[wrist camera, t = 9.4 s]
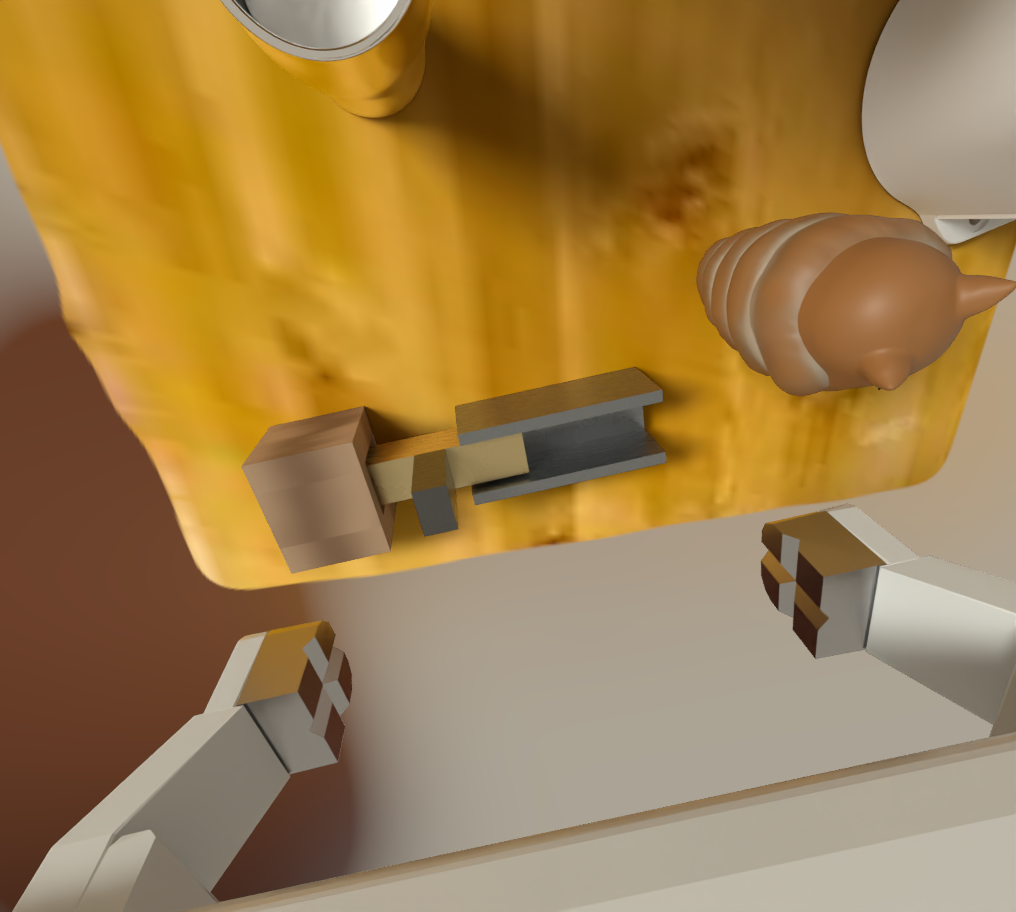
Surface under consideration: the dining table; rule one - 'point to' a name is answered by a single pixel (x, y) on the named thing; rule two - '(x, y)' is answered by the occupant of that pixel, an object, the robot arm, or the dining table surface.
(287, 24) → the silver cup
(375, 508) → the socket
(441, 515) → the tan grey t-shaped block
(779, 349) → the cat ice cream
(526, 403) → the grey track with slider
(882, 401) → the dining table surface
